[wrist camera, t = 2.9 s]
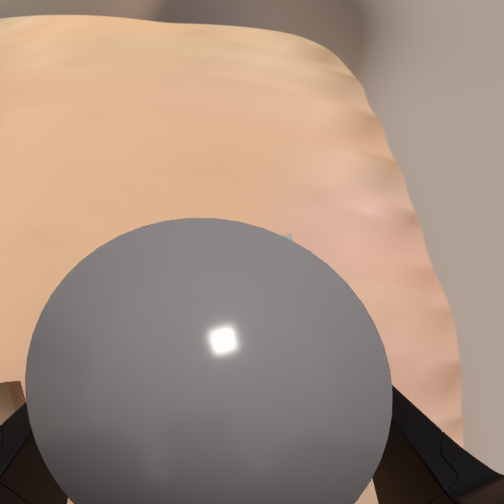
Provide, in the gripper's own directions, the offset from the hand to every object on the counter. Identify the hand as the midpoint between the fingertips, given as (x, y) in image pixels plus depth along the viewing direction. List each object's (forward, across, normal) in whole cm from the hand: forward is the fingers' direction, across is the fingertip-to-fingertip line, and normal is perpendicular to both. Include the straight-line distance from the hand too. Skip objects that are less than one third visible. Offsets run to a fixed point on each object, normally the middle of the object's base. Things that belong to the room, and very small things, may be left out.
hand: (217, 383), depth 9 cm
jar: (+5, 0, +5) cm, 7 cm away
